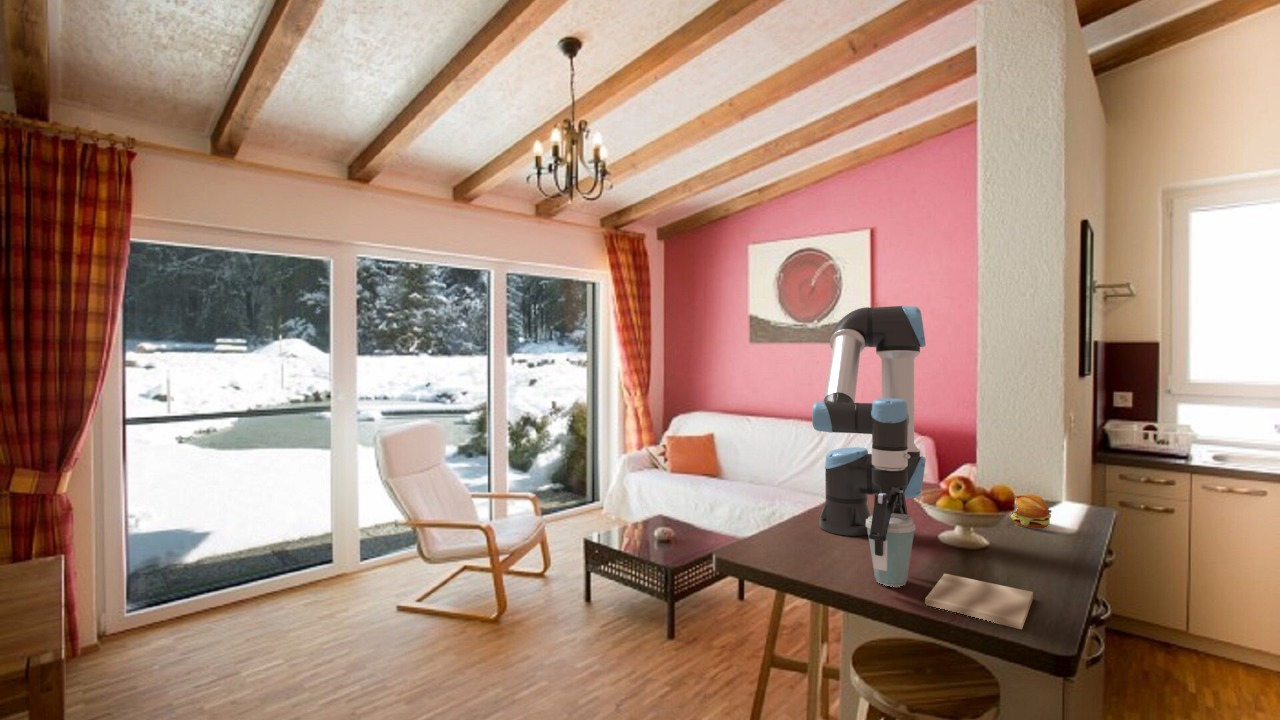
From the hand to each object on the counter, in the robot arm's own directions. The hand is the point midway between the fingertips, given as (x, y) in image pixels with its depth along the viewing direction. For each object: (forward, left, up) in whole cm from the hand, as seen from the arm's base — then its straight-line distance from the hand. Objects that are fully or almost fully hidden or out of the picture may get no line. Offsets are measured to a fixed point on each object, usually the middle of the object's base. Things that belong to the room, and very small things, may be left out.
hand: (889, 560), depth 137 cm
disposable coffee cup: (0, 0, -5) cm, 5 cm away
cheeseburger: (+20, +67, -5) cm, 70 cm away
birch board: (+18, 0, -5) cm, 19 cm away
